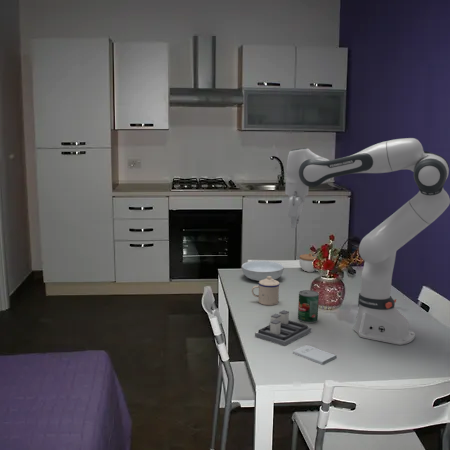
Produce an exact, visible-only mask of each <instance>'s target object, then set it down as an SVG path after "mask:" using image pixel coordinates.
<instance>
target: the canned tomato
mask: <svg viewBox="0 0 450 450" xmlns="http://www.w3.org/2000/svg"><path fill="white" fill-rule="evenodd" d="M319 295H320V293H319V292H317V291H315V290H310V289H305V290H303V289H302V290H299V291H298V303H297V304H298V307H297V309H298V311H297V320H298V321H300V322H302V323H306V324H313V323H317V322H318V321H319V320H318V317H319V316H318V315H319V299H320V298H319Z"/></svg>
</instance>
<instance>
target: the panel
mask: <svg viewBox="0 0 450 450" xmlns="http://www.w3.org/2000/svg"><path fill="white" fill-rule="evenodd" d="M311 332H312V328H311V327H309V326H308V325H307V324H302V323H299V322H296V321H291V320H289V322H288V324H283V323H281V327H280V334H279V335H276V334H273V333H270V324H269V325H267V326H264V327H261V328H260V329H258V331H256V332H254V337H255V338H258V339H261V340H264V341H268V342H271V343H274V344H277V345H281V346H284V347H285V346H288V345H289V344H291V343H293V342H295V341H298V339H300V338H303V337H304V336H306V335H308V334H309V333H311Z"/></svg>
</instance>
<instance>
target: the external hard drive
mask: <svg viewBox="0 0 450 450" xmlns="http://www.w3.org/2000/svg"><path fill="white" fill-rule="evenodd" d="M292 354H294V355H297V356H299V357H301V358H304V359H307V360H309V361H311V362H314V363H316V364H318V365H319V364H320V365H322V366H323V365H325V364H327V363H329V362H331V361H333V360H335V359H337V357H338V356H337V355H336V354H334V353H331V352H328V351H326V350H323V349H319V348H317V347H313V346H311V345H309V344H305V345H303V346H301V347H298V348H296V349H294V350H292Z"/></svg>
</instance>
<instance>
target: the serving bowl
mask: <svg viewBox="0 0 450 450" xmlns="http://www.w3.org/2000/svg"><path fill="white" fill-rule="evenodd" d="M284 269H285V267H284V265H283V264H281V263H279V262H276V261H272V260H271V261H269V260H251V261H246V262H244V263H242V265H241V271H242V273H243V275H244V276H245V277H246V278H247V279H250V280H252V281H257V282H259V281H260V280H264V279H266V278H267V276H271V277H272V279H274V280H277V279H279V278H280V277H282V275H283V272H284Z"/></svg>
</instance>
